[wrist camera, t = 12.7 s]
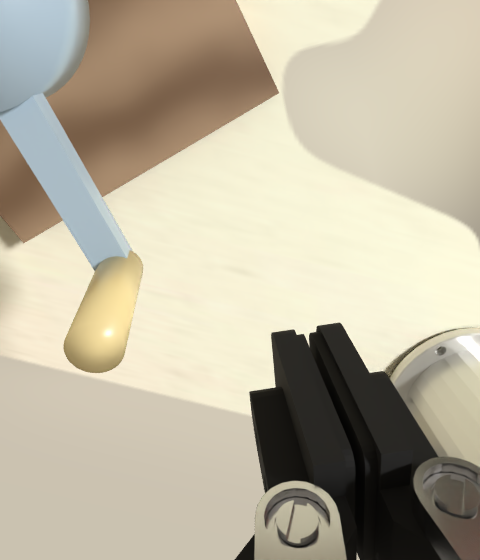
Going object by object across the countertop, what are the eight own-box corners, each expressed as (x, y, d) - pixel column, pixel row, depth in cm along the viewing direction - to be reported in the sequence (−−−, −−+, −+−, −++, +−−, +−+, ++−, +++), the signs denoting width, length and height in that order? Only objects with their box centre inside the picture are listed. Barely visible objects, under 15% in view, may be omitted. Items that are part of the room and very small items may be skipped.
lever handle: (-157, -60, 16) (-487, -171, 8) (20, -153, 15) (-154, -368, 8) (73, 287, 22) (10, 410, 15) (204, 231, 22) (211, 329, 14)
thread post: (273, 90, 28) (306, 104, 20) (33, 232, 31) (-23, 295, 22) (93, -292, 21) (30, -516, 12) (-208, -63, 23) (-424, -127, 15)
